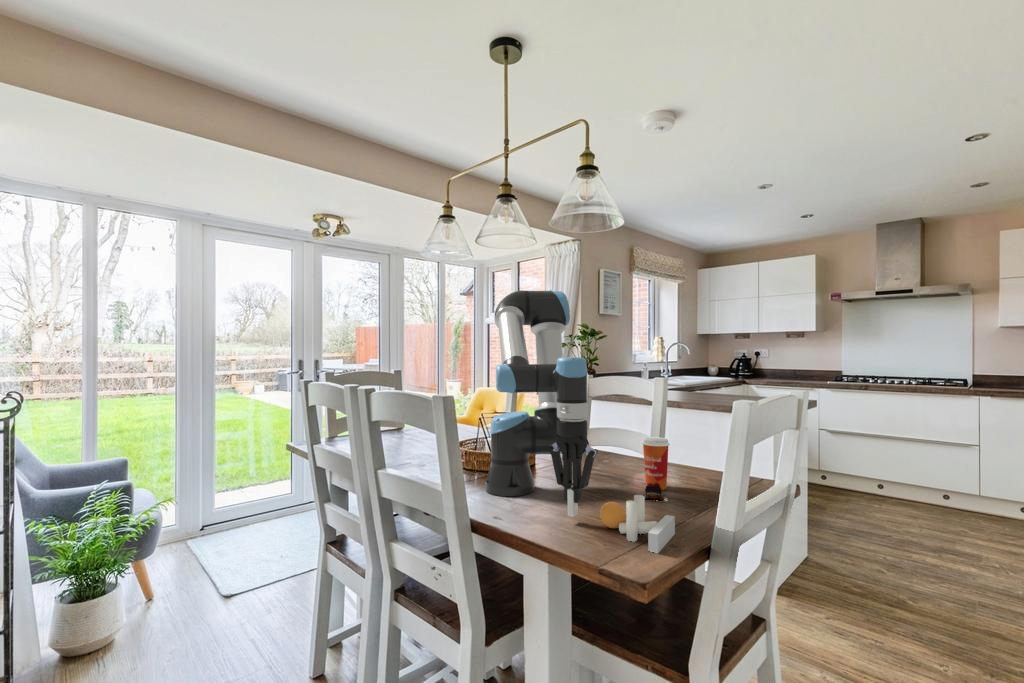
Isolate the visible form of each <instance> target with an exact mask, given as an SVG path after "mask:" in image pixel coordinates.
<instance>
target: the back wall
mask: <svg viewBox="0 0 1024 683" xmlns="http://www.w3.org/2000/svg"><path fill="white" fill-rule="evenodd" d="M675 535H676V517H675V515H670V514H669V515H668V514H665V515H664V516H663V517H662V518H661V519H660V520H659V521H657V524H656V525H655V526H654V527H653V528H652V529H651V530H650V531H649V532H648V533H647V539H648V540H647V541H648V543H647V546H648V548H647V549H648V551H650V552H649V553H652V552H654V553H653V554H657V555H658V554H659V553H660V552H661V551H662V550H663V548H664V547H665V546H666V545H667V544H668V543H669V541H670V540H671V539H672V538H673V537H674V536H675Z"/></svg>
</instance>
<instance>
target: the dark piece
mask: <svg viewBox="0 0 1024 683" xmlns="http://www.w3.org/2000/svg"><path fill="white" fill-rule="evenodd" d="M662 491H663V490H661V487H660V484H654V485H652V483H647V486H646V485H645V488H644V493H645V495H644V494H643V495H644V497H645V500H655V501H654V502H656V500H658V501H665V500H664V499H665V498H664V497H665V496H662ZM652 493H654V494H655V493H656V494H655V495H654V494H652Z"/></svg>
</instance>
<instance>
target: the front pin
mask: <svg viewBox="0 0 1024 683" xmlns="http://www.w3.org/2000/svg"><path fill="white" fill-rule="evenodd" d="M657 523H658V521H656V520H652V521H645V522H637V532H638V533H645V534H648V532H649V531H650V530H651V529H652V528H653V527H654V526H655V525H656V524H657ZM618 531H619V533H620V534H621V535H622V534H626V522H625V521H624V523H619V527H618ZM626 535H627V534H626Z"/></svg>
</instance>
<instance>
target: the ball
mask: <svg viewBox="0 0 1024 683" xmlns="http://www.w3.org/2000/svg"><path fill="white" fill-rule="evenodd" d="M599 517H600V520H601V523H603V525H604V526H605V527H607V528H610V529H617V528H618V529H619V523H625V520H626V510H625V509H624V507H623V506H622V505H621V504H620V503H618V502H616V501H608V502H606V503H604V504H603V505H602V506H601V508H600V510H599Z"/></svg>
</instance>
